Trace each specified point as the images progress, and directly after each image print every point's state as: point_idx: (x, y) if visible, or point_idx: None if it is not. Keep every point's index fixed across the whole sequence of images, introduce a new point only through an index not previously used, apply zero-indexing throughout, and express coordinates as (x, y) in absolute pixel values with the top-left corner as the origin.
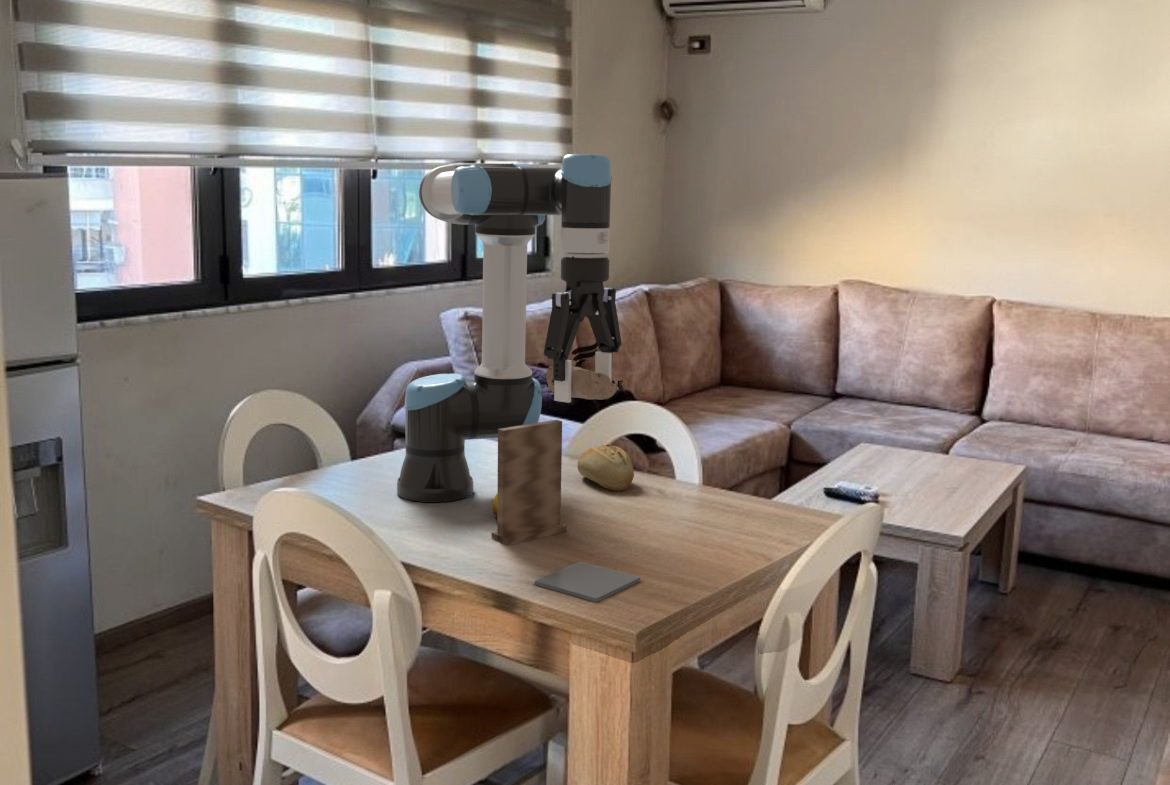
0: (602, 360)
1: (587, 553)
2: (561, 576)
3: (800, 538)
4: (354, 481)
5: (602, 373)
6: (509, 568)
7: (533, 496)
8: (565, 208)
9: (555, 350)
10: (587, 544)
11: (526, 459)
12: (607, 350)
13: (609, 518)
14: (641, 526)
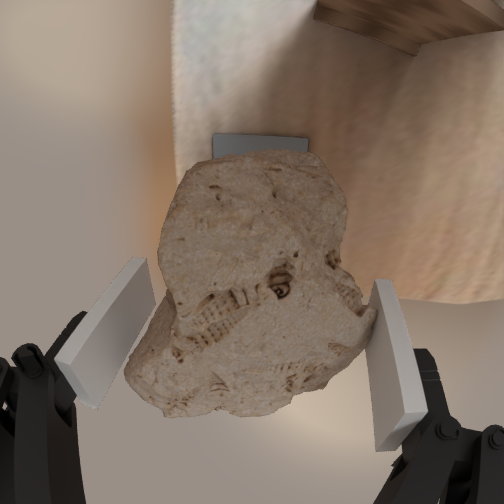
0: (383, 404)
1: (353, 123)
2: (245, 151)
3: (492, 296)
4: None
5: (241, 416)
6: (238, 74)
7: (384, 14)
8: None
9: (9, 408)
10: (385, 105)
11: None
12: (405, 448)
13: (488, 88)
14: (480, 138)
